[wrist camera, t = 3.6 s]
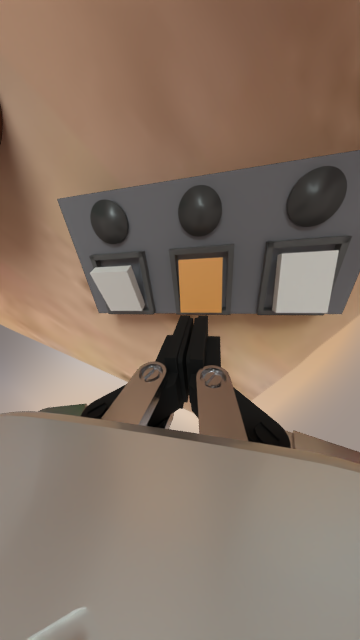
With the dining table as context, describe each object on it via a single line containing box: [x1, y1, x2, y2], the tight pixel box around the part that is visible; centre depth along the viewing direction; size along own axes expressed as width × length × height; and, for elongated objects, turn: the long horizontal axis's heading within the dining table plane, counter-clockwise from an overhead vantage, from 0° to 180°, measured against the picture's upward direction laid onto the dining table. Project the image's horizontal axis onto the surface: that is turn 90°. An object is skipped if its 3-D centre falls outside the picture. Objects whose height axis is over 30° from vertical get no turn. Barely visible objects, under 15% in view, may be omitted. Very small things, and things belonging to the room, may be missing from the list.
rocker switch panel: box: [57, 150, 360, 315], centre depth 15 cm, size 10×22×4 cm, turn 95°
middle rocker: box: [178, 257, 223, 313], centre depth 13 cm, size 4×3×1 cm
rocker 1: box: [90, 265, 145, 311], centre depth 15 cm, size 4×3×1 cm
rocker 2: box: [272, 250, 339, 313], centre depth 12 cm, size 4×3×1 cm
